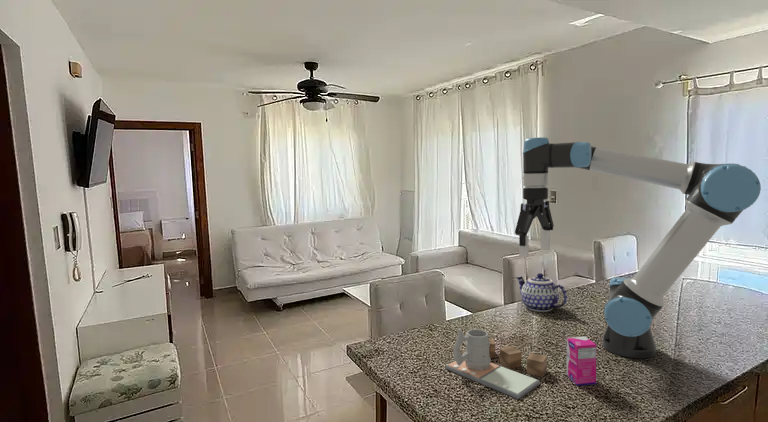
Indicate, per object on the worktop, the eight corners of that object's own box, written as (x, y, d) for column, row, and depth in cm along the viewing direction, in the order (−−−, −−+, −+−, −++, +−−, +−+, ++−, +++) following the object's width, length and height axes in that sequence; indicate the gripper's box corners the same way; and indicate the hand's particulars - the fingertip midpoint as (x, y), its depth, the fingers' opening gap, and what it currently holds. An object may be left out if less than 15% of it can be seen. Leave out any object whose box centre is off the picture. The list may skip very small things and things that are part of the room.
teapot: (577, 313, 173) (578, 277, 172) (552, 320, 166) (553, 283, 164) (528, 297, 195) (529, 265, 193) (504, 303, 187) (504, 270, 186)
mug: (496, 368, 125) (496, 328, 124) (461, 375, 121) (460, 335, 120) (481, 357, 132) (481, 319, 131) (447, 364, 128) (447, 325, 127)
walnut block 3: (546, 370, 126) (546, 356, 125) (542, 377, 122) (543, 362, 121) (530, 367, 128) (531, 352, 128) (526, 373, 124) (526, 358, 124)
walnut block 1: (493, 351, 139) (493, 338, 139) (495, 357, 135) (495, 344, 135) (479, 351, 140) (479, 338, 140) (480, 357, 136) (480, 343, 135)
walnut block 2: (521, 366, 129) (521, 351, 128) (509, 369, 127) (509, 354, 127) (511, 360, 133) (511, 346, 133) (499, 362, 131) (499, 348, 131)
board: (539, 384, 118) (539, 379, 118) (518, 399, 111) (518, 394, 110) (468, 357, 136) (468, 353, 136) (445, 368, 128) (445, 364, 128)
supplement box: (565, 375, 122) (566, 337, 121) (585, 374, 123) (586, 335, 121) (576, 386, 116) (576, 345, 115) (597, 384, 117) (598, 344, 116)
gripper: (543, 185, 147) (542, 245, 150) (503, 188, 131) (503, 257, 133) (565, 185, 142) (564, 248, 144) (525, 189, 125) (525, 260, 127)
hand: (534, 252), depth 138 cm, fingers open, 13 cm apart
